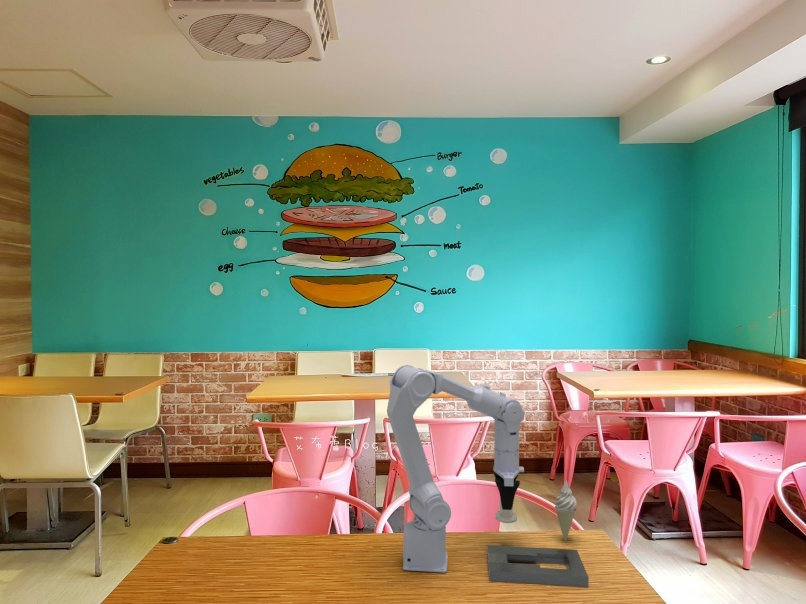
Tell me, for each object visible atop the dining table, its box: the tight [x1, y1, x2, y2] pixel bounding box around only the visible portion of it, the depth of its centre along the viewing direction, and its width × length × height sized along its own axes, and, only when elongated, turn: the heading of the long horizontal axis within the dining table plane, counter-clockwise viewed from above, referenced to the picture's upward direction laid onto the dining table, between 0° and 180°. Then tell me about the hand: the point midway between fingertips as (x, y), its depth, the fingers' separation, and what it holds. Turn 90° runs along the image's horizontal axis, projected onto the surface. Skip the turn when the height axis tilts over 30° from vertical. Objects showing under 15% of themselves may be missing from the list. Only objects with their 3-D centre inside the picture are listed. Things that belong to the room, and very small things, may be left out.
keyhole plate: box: [486, 544, 589, 588], centre depth 121 cm, size 20×12×2 cm, turn 83°
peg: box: [495, 498, 518, 524], centre depth 131 cm, size 5×5×8 cm
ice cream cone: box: [554, 479, 577, 542], centre depth 135 cm, size 5×5×15 cm
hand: (506, 506), depth 131 cm, fingers closed on peg, 3 cm apart
